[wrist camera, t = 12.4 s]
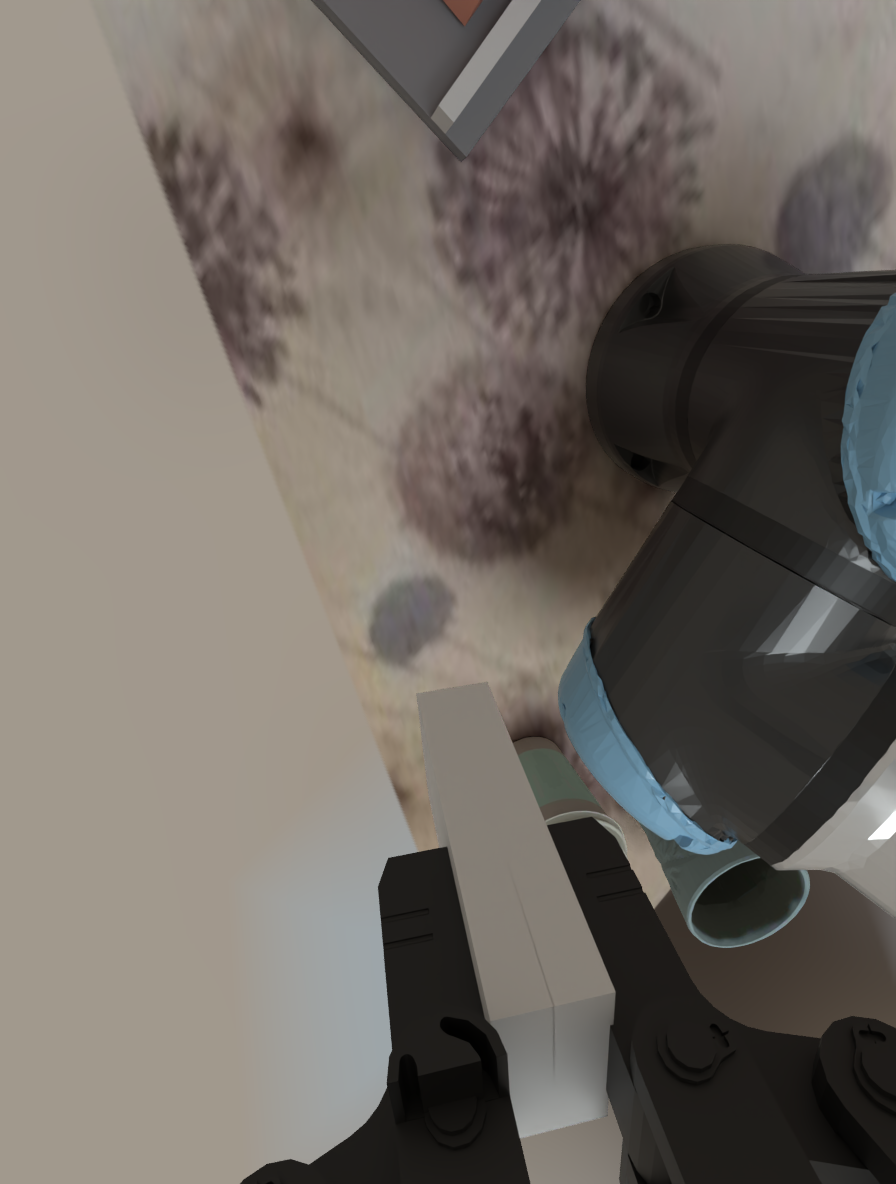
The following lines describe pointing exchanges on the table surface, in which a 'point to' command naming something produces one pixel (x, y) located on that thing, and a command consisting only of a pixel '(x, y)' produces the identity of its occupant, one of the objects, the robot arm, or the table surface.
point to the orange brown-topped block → (463, 8)
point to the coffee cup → (560, 786)
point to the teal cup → (730, 892)
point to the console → (451, 55)
